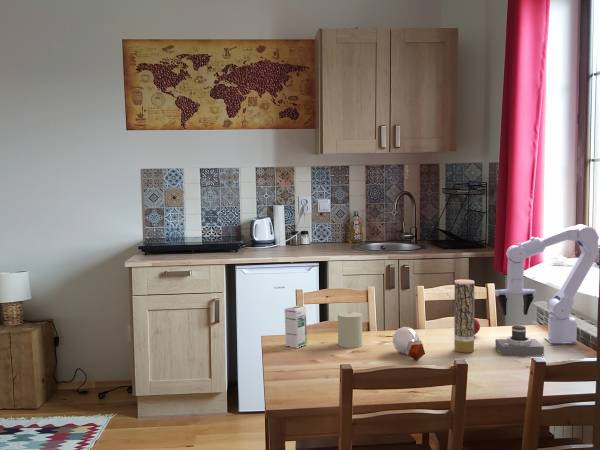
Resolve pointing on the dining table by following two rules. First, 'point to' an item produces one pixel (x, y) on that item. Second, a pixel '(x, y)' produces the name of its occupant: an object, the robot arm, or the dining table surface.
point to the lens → (519, 333)
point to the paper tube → (464, 316)
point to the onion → (476, 326)
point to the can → (350, 329)
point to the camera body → (519, 347)
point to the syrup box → (295, 326)
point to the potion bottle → (408, 343)
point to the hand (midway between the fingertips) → (514, 314)
